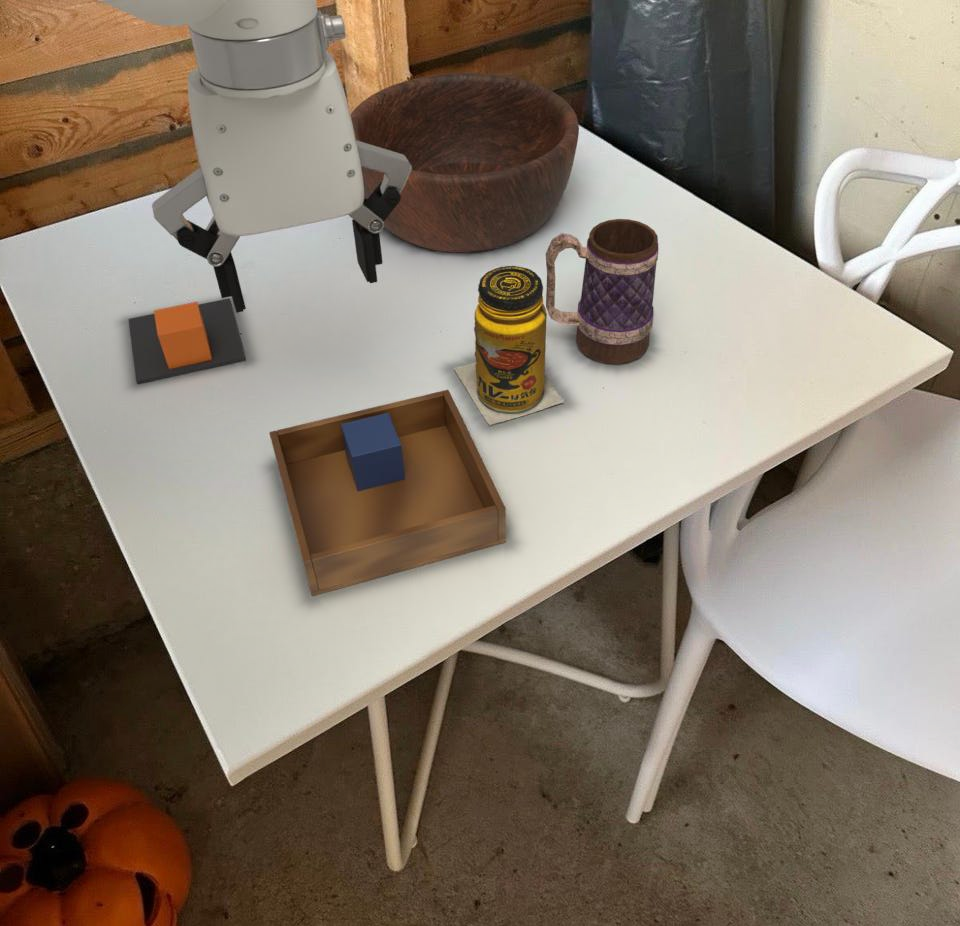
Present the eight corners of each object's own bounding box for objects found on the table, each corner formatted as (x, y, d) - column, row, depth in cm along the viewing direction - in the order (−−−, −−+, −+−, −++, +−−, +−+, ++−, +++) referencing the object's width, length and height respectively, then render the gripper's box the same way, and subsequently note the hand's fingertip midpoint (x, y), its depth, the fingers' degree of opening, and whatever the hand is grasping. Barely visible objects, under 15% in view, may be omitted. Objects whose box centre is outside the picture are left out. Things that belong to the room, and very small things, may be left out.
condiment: (489, 427, 80) (487, 315, 72) (453, 369, 86) (447, 259, 77) (564, 404, 82) (571, 292, 74) (524, 349, 88) (527, 239, 79)
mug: (644, 319, 91) (658, 210, 82) (654, 366, 86) (671, 255, 77) (540, 321, 91) (543, 212, 82) (544, 368, 86) (548, 257, 77)
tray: (311, 596, 68) (303, 562, 65) (277, 466, 78) (269, 431, 75) (505, 542, 71) (505, 508, 69) (450, 423, 81) (448, 389, 78)
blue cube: (357, 491, 75) (351, 457, 72) (346, 458, 77) (340, 423, 75) (405, 479, 76) (401, 444, 73) (392, 447, 78) (388, 412, 75)
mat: (137, 384, 85) (135, 380, 85) (129, 321, 92) (128, 318, 92) (245, 360, 87) (244, 357, 87) (230, 301, 94) (229, 297, 94)
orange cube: (169, 369, 86) (157, 335, 83) (164, 344, 89) (153, 310, 86) (212, 360, 87) (202, 325, 84) (207, 335, 90) (197, 301, 87)
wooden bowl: (581, 160, 113) (587, 76, 106) (563, 277, 96) (569, 186, 89) (382, 148, 116) (374, 66, 109) (330, 260, 99) (316, 171, 91)
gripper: (382, 5, 60) (402, 237, 72) (105, 47, 56) (177, 284, 68) (416, 49, 55) (432, 290, 67) (115, 98, 51) (191, 344, 63)
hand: (303, 287), depth 67 cm, fingers open, 9 cm apart
